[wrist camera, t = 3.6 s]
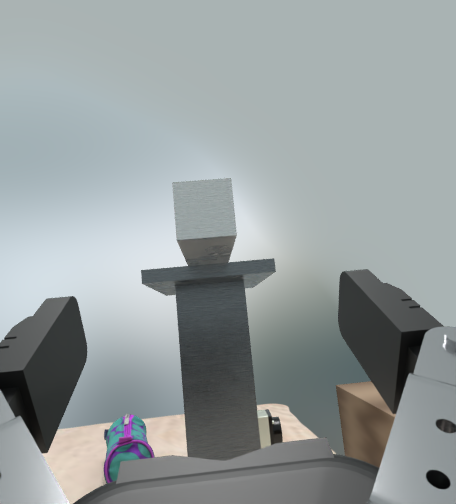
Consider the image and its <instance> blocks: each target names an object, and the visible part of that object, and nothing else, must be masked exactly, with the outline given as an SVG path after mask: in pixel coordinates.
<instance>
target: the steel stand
mask: <svg viewBox="0 0 456 504" xmlns="http://www.w3.org/2000/svg"><path fill="white" fill-rule="evenodd" d="M274 272H276V271H275V262H274V259H263V260H252V261H240V262H230V263H218V264H207V265H195V266H184V267H173V268H161V269H151V270H141V273H142V284H144V285H146V286H148V287H150V288H152V289H154V290H156V291H158V292H160V293H162V294H165V295H166V296H167V295H176V303H177V315H178V330H179V344H180V357H181V371H182V385H183V398H184V410H185V411H184V412H185V425H186V439H187V453H188V457H192V458H201V459H211V460H221V461H225V460H230V459H233V458H236V457H239V456H242V455H245V454H248V453H250V452H253V451H256V450H259V449H261V444H260V434H259V424H258V414H257V404H256V395H255V386H254V375H253V365H252V355H251V345H250V336H249V326H248V316H247V307H246V297H245V288H253V287H255V286H256V285H257V284H259V283H260V282H262V281H263V280H264V279H266V278H267V277H269V276H270V275H272V274H273V273H274Z"/></svg>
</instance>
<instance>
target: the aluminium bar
mask: <svg viewBox="0 0 456 504" xmlns="http://www.w3.org/2000/svg"><path fill="white" fill-rule="evenodd" d="M172 184H173V196H174V209H175V221H176V236H177V242H178V244H179V246H180V248H181V251H182V253H183V255H184V257H185V259H186V262H187V264H188V266H195V265H207V264H218V263H228V262H229V258H230V255H231V252H232V249H233V245H234V242H235V239H236V235H237V233H236V223H235V213H234V203H233V193H232V183H231V178H226V179H213V180H200V181H186V182H173V183H172Z"/></svg>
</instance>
